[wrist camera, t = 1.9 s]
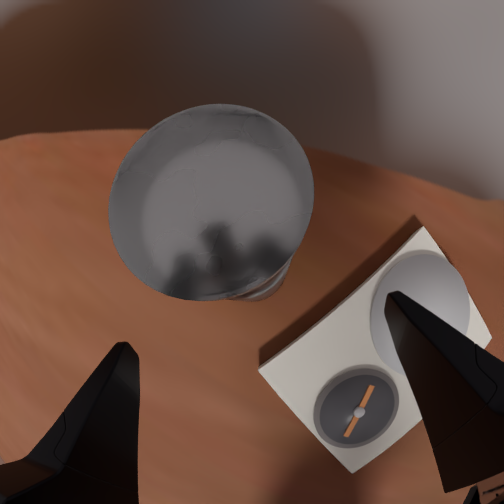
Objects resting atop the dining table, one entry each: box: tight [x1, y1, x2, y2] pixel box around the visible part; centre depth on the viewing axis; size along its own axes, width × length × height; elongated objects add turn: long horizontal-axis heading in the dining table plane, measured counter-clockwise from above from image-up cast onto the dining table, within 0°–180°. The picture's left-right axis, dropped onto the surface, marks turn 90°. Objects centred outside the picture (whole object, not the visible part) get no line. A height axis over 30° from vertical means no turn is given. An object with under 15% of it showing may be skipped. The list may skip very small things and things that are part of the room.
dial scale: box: [258, 226, 492, 474], centre depth 17 cm, size 16×12×2 cm
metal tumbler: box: [108, 104, 314, 302], centre depth 13 cm, size 5×5×14 cm
